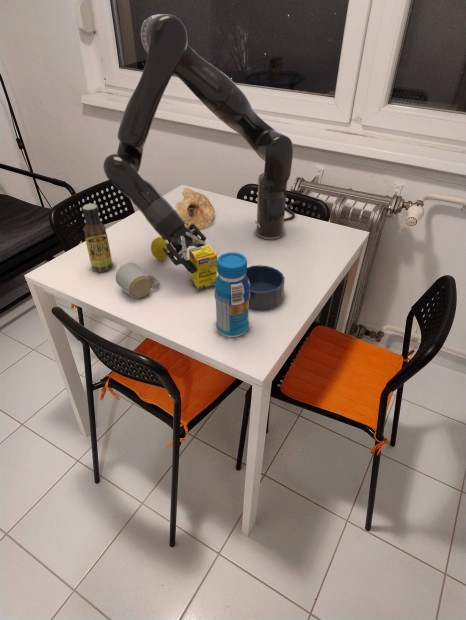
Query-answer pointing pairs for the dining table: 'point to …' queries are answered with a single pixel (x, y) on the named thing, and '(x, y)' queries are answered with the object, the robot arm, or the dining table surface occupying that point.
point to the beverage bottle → (232, 294)
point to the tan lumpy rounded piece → (195, 209)
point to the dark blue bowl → (265, 287)
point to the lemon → (158, 248)
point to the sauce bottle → (96, 239)
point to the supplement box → (203, 267)
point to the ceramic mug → (135, 280)
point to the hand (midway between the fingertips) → (202, 264)
